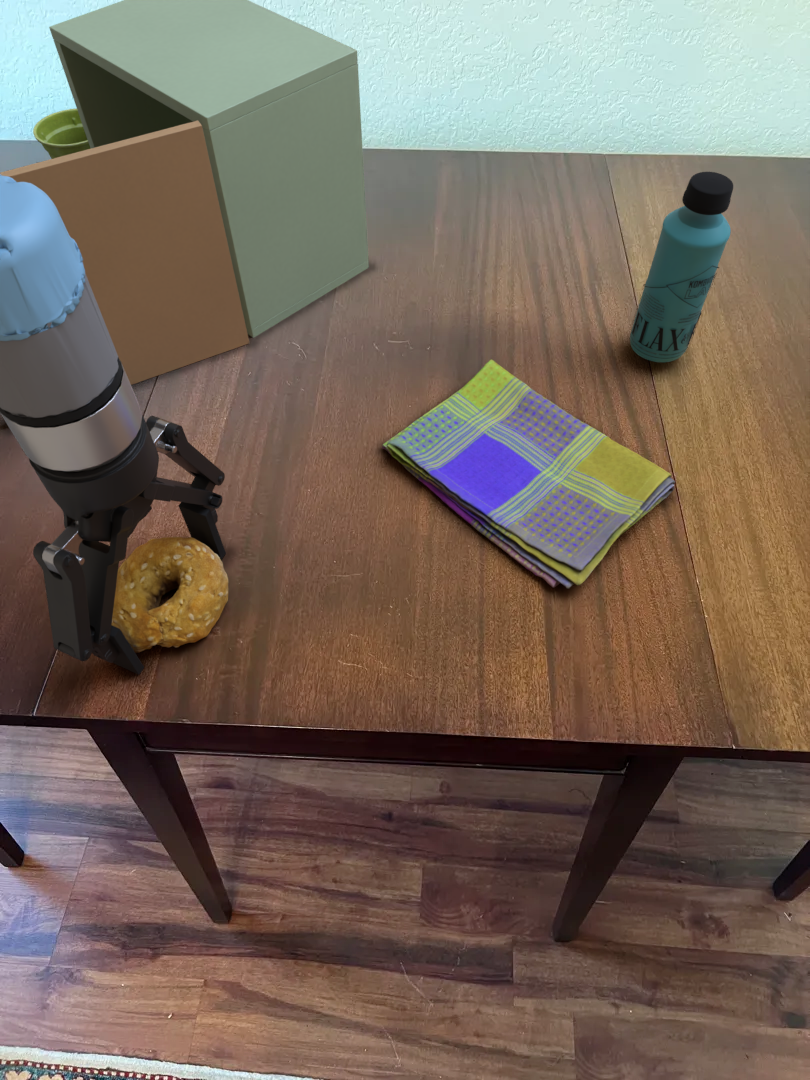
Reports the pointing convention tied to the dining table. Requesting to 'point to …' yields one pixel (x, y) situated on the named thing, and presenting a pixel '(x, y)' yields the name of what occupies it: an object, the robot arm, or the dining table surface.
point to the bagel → (156, 575)
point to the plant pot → (61, 133)
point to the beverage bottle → (682, 269)
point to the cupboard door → (150, 246)
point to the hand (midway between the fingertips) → (171, 605)
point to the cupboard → (239, 130)
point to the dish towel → (530, 475)
